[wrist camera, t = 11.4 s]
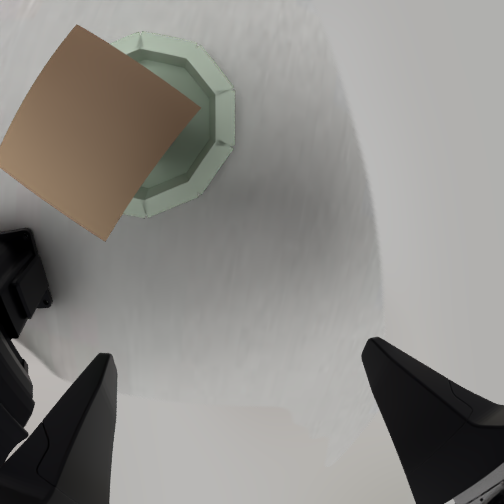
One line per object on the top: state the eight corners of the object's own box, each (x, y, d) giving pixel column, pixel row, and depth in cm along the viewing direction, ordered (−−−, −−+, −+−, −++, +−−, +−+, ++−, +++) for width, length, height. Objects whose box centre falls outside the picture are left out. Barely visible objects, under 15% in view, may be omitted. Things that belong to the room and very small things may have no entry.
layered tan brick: (148, 163, 16) (105, 241, 6) (103, 132, 15) (-7, 162, 4) (184, 116, 16) (201, 108, 5) (139, 84, 14) (77, 24, 4)
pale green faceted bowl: (82, 209, 17) (65, 228, 14) (73, 59, 13) (53, 49, 10) (224, 195, 19) (234, 210, 16) (224, 43, 15) (235, 28, 12)
